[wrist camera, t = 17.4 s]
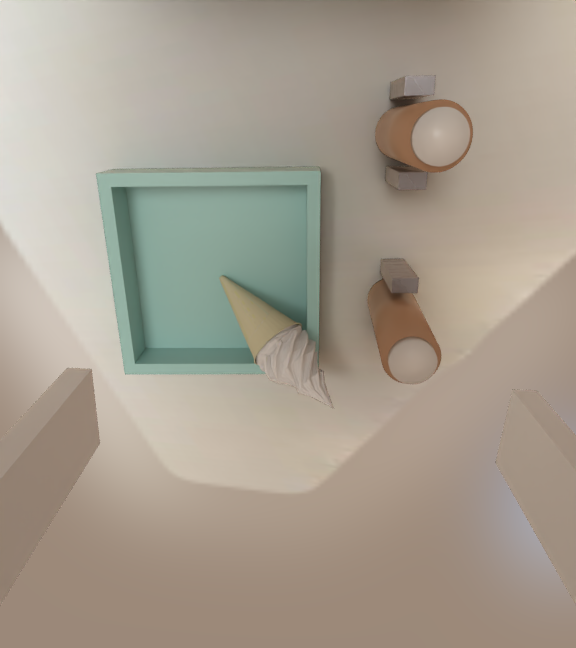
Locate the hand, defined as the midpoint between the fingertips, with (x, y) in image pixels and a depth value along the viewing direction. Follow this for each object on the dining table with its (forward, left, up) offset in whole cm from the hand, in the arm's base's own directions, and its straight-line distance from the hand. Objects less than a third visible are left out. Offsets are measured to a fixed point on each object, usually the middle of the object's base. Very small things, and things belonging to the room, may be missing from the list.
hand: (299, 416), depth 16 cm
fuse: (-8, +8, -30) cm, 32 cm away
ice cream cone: (+4, -7, -29) cm, 30 cm away
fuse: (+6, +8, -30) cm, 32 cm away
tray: (+3, -7, -30) cm, 31 cm away
